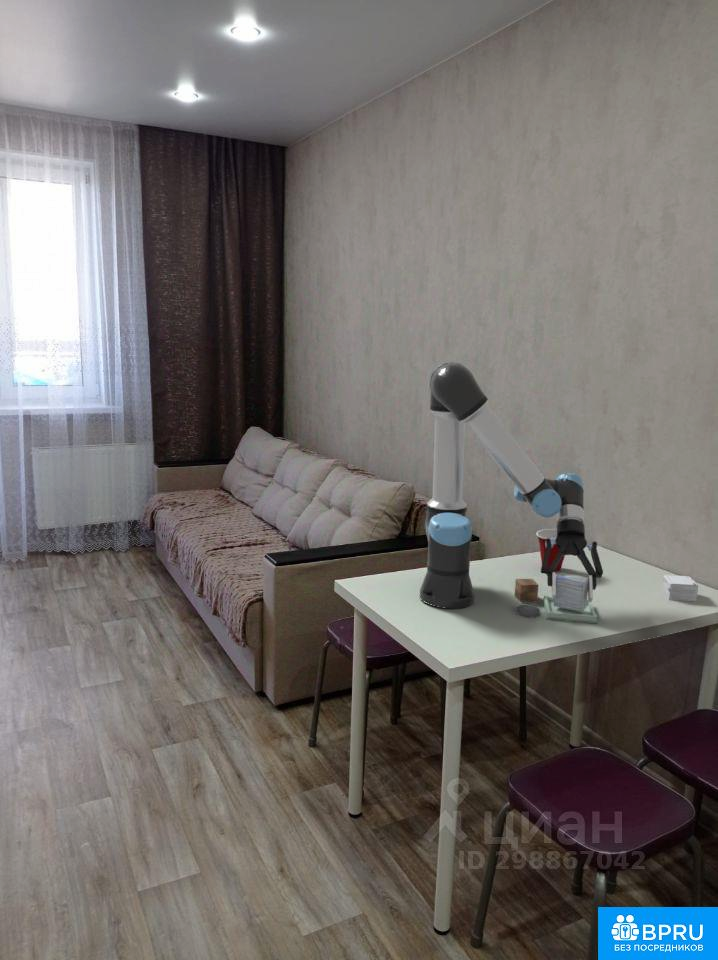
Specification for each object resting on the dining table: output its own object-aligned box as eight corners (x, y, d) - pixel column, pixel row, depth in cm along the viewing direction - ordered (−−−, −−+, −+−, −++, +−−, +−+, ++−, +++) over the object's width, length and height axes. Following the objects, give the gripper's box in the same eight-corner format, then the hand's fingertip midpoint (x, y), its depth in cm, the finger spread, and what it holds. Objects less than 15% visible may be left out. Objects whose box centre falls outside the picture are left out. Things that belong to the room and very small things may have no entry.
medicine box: (586, 608, 196) (589, 577, 194) (581, 613, 192) (584, 582, 190) (558, 601, 200) (560, 571, 198) (552, 606, 196) (555, 575, 194)
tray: (546, 619, 191) (547, 612, 191) (543, 601, 203) (543, 595, 203) (596, 623, 189) (597, 616, 189) (589, 605, 201) (590, 599, 201)
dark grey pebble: (516, 617, 193) (517, 611, 192) (515, 608, 199) (516, 603, 198) (540, 619, 192) (540, 613, 192) (538, 610, 198) (538, 605, 197)
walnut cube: (519, 601, 203) (521, 584, 202) (514, 595, 208) (515, 578, 207) (537, 601, 204) (538, 584, 203) (531, 595, 208) (532, 578, 207)
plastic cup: (527, 563, 236) (530, 528, 234) (558, 562, 238) (562, 527, 236) (542, 575, 226) (545, 537, 223) (574, 573, 228) (577, 537, 225)
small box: (660, 590, 215) (662, 574, 214) (688, 592, 214) (690, 576, 213) (668, 600, 208) (670, 583, 206) (697, 602, 207) (699, 585, 206)
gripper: (607, 533, 206) (611, 607, 193) (530, 528, 209) (529, 600, 197) (612, 520, 199) (617, 595, 187) (532, 515, 203) (531, 589, 191)
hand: (572, 598), depth 192 cm, fingers closed on medicine box, 9 cm apart
